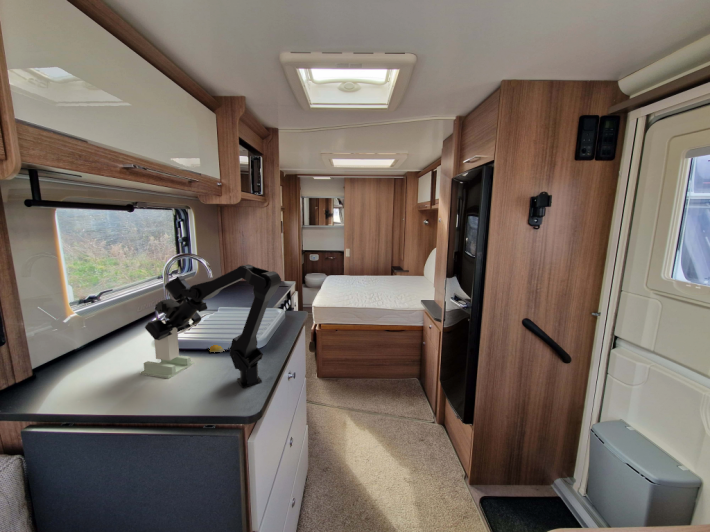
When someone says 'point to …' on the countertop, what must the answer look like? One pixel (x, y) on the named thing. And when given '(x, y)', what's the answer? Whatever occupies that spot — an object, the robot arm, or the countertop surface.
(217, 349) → the bread roll
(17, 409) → the countertop surface
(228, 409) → the countertop surface
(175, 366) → the tile rack
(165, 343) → the beige rectangular box
